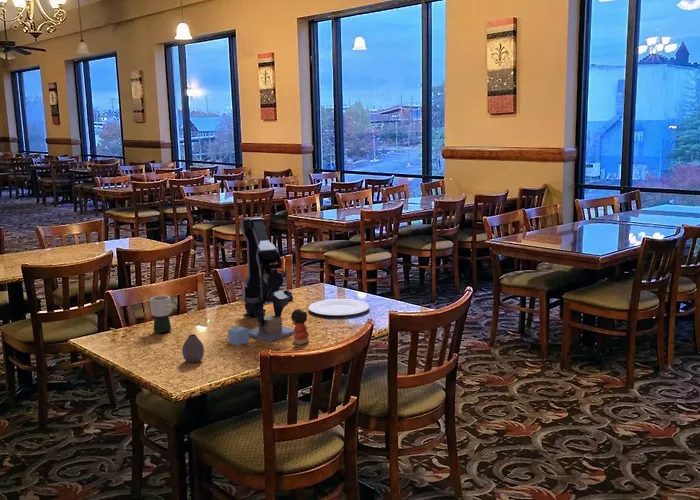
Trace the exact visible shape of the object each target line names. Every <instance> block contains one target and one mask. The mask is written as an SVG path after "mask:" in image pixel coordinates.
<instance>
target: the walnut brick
mask: <svg viewBox="0 0 700 500" xmlns="http://www.w3.org/2000/svg"><path fill="white" fill-rule="evenodd" d="M282 318H283V317H279V316H275V314H268V315H264V327H261V325H260V323H259V321H258V320H257V321H258V327H259V331H260V332H264V333H267V334H272V333H276V332H279V331H282V326H283V319H282Z"/></svg>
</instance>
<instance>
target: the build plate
mask: <svg viewBox="0 0 700 500" xmlns="http://www.w3.org/2000/svg"><path fill="white" fill-rule="evenodd" d="M248 333H249V337H251V338H254V339H257V338H258V340H261V341H264V340H265V342H267V343H268V342H269V343H270V342H273V341H276V340H280V339H283V338H285V337H289V336H291V335H294V328H292V327H287V326H284V325H282V331H279V332H276V333H272V334H267V333H264V332H260V331H259V326H258V327H254V328H252V329H251V328H250V329H248Z"/></svg>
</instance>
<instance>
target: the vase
mask: <svg viewBox="0 0 700 500" xmlns="http://www.w3.org/2000/svg"><path fill="white" fill-rule="evenodd" d="M181 350H182V351H181V352H182V357H183V359H184V361H186V362H187V363H189V364H196V363H199V362H201V360H202V359H203V357H204V355H205V347H204V344H203V342H202V341H201V340H200V339H199V337H198V336H197V334H195V333H193V334H189V335H188V337H187V339H186V340H185V342H184V343H183V345H182V348H181Z"/></svg>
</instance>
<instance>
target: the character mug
mask: <svg viewBox="0 0 700 500" xmlns="http://www.w3.org/2000/svg"><path fill="white" fill-rule="evenodd" d="M149 306H150V307H149V308H150V311H151V313H150V314H151V316H152V317H154V320H153V332H155V333H167V332H169V331H172V326H171V320H170V317H169V315H170V314H171V313H173V307H172V306H173V305H172V301H171V296H169V295H157V296H153V297H150V300H149Z"/></svg>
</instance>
